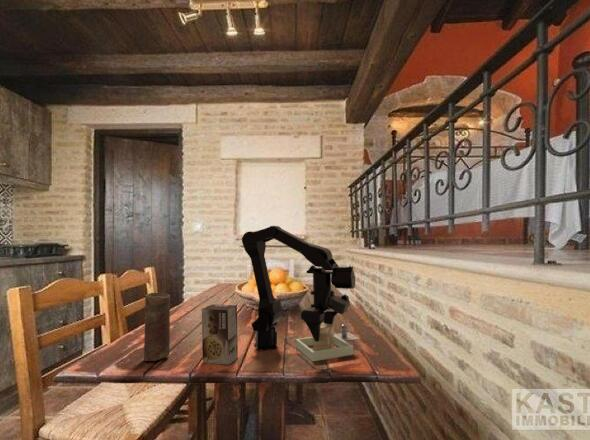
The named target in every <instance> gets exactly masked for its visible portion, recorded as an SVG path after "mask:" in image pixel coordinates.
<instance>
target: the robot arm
mask: <svg viewBox="0 0 590 440" xmlns="http://www.w3.org/2000/svg"><path fill="white" fill-rule="evenodd" d="M271 240H276V241H278V242H280V243H282V244H283V245H285V246H287V247H289V248H291V249H293V250H294V251H296V252H298V253H300V254H301V255H302V256H303V257H304V258H305V259H306V260H307V261H308V262H309V263H311V264H312V265H311V266H310V267H309V269H307V270H306V274H312V290H311V291H310V295H313V296H312V298H313V300H312V303H311V304H310V307H307V308H305V309H303V310H302V311H301V312H300V320H302V321H303V323H305V325H306V326H307V327H308V330H309V331H310V333H311V335H312V336H311V337H313V338H314V340H315V341H317V342H318V341H319V336H320V325H321V324H322V323H325V324H333V325H334V321H335V317H336V316H338V314H340V315H344V314H345V313H347V312H348V310H349V307H350V306H351V301H350V297H349V295H347V294H343V295H341V296H340V295H339V296H337V295H335V291H334V289H332V286H334V288H335V289H346V290H347V289H349V290H354V289H355V286H356V276H355V271H354V266H339V265H338V263H337V262H336V261H335V259H334V258H333V254H332V251H331V250H330V249H329V248H327V247H324V246H322V245H321V246H320V245H317V244H313V243H310V242H308V241H305V240H304V239H302V238H300V237H298V236H296V235H294V234H293V233H291V232H289V231H287V230H285V229H284V228H281V227H280V225H270V226H268V227H266V228H262V229H258V230H255V231H246V232H245V233H244V234H243V236H241V244H242V246H243V247H244V251H245V252H246V254H247V256H248V257H249V258H250V263H251V265H252V271H253V275H254V279H255V280H254V281H255V285H256V289H257V294H258V298H259V299H258V300H259V301H258V306H257V307H258V308H257V318H256V319H255V320H254V322H253V323H252V324H251V327H252V331H253V332H254V335H255V338H254V339H255V342H254V343H253V346H255V348H256V349H257V350H258V351H265V350H271V349H277V348H278V332H277V331H276V326H277V325H278V322H280V320H281V318H282V316H283V312H284V309H283V308H282V302H281V299H278V300H277V299H276V297H275V296H274V293H273V289H272V284H271V280H270V275H269V270H268V267H267V263H266V258H265V252H266V248H267V245H266V243H267V242H270V241H271Z"/></svg>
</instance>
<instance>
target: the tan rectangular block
mask: <svg viewBox="0 0 590 440" xmlns="http://www.w3.org/2000/svg"><path fill="white" fill-rule="evenodd" d="M334 331H335V330H334V323H333V324H325V323H324V322H323V323H322V324H321V325H320V336H319V341H318V342H317V341H315V340H314V338H313V345H312V350H313V351H318V350H325V349H331V348H335V344H334V334H335V333H334Z"/></svg>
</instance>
